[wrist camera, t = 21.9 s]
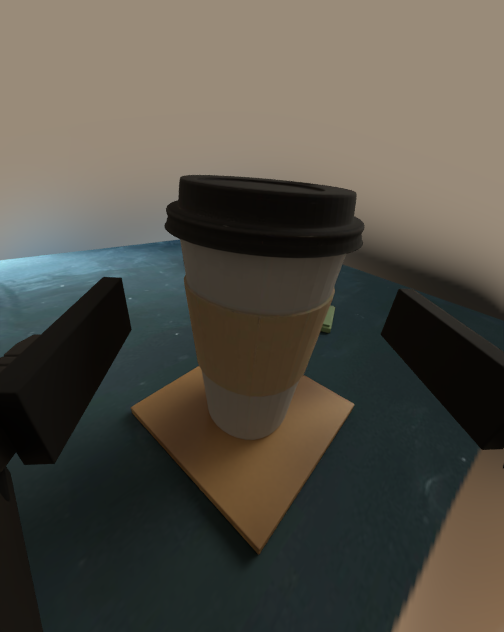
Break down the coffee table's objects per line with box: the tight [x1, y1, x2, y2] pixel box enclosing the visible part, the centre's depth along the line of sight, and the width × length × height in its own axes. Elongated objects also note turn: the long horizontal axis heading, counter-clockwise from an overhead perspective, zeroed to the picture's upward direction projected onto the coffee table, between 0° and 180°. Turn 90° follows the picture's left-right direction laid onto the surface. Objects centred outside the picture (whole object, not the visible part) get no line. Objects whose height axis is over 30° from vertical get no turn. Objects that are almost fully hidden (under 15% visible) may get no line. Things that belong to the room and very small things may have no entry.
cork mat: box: [131, 366, 354, 554], centre depth 20 cm, size 12×12×1 cm
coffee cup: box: [165, 175, 364, 440], centre depth 16 cm, size 9×9×15 cm
